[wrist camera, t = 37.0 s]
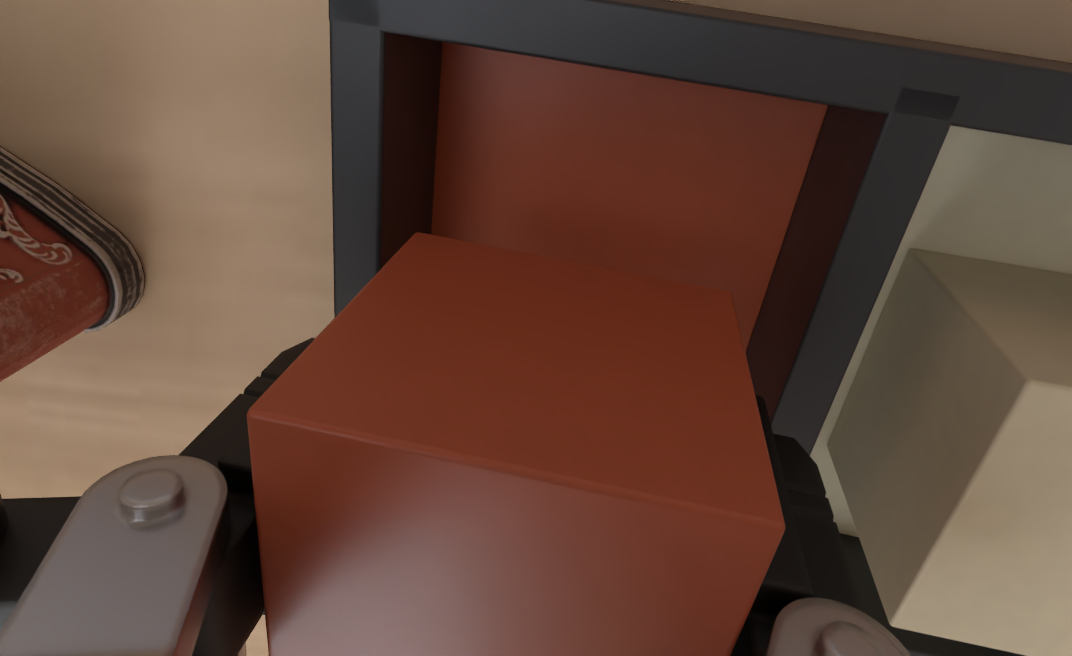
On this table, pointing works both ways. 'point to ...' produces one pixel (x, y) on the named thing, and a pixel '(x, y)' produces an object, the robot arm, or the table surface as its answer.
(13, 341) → the lighter
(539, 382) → the terracotta block
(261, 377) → the robot arm
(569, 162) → the sorting tray
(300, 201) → the table surface
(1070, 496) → the cream block
